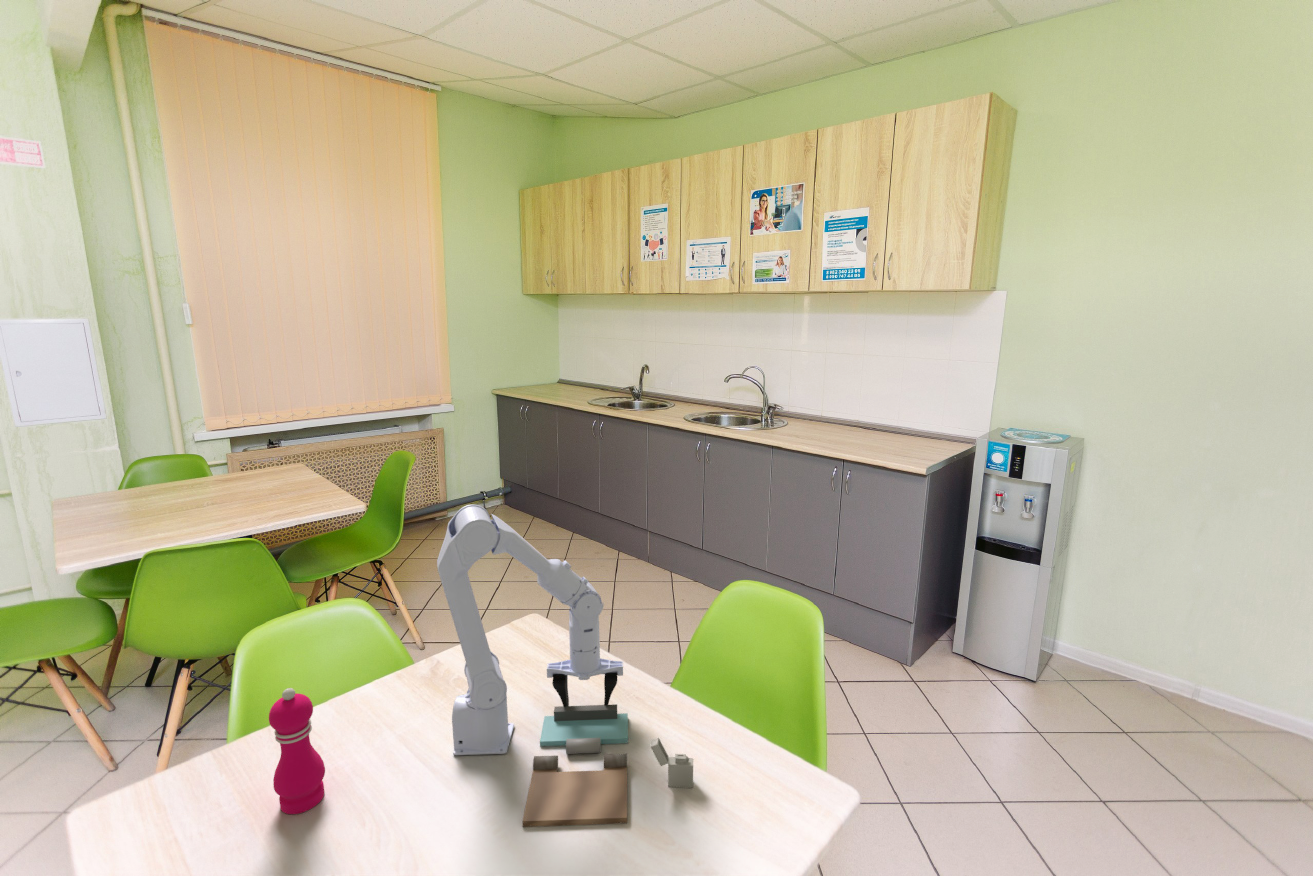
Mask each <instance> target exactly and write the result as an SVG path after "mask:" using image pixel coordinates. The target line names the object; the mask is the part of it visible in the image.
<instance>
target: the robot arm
mask: <svg viewBox="0 0 1313 876" xmlns="http://www.w3.org/2000/svg"><path fill="white" fill-rule="evenodd" d="M491 516H492V519H491ZM491 516H490V514H489V512H488V510H487V509H486V508H484V507H483V506H482V505H479V504H473V503H472V504H467V505H465V506H462V507H461V508H460V509H459V510H458V511H457V512H456V513H455V514H454V515H453V516H452V517H451V519H450V520H449V521H448V523H447V529H446V532H445V536H444V539H443V542H442V545H441V546H440V547H441V548H440V551H439V552H438V553H439V554H438V557H437V560H436V567H437V573H438V575H439V579H440V582H441V586H442V588H443V592H444V596H445V599H446V602H447V604H448V608H449V611H450V614H451V618H452V621H453V624H454V628H455V631H456V634H457V635H456V636H457V638H458V641H459V643H460V644H459V645H460V647H461V650H462V654H463V656H464V661H465V663H464V667H463V668H464V675H465V677H466V680H467V686H468V689H467V690H466V693H465V694H461V695H457V696H456V697H455V700H454V701H453V702H454V703H453V707H452V713H451V724H452V738H453V739H452V740H453V752H452V754H453V756H468V755H470V756H471V755H472V756H473V755H500V754H501V755H505V754H507V753H508V750H509V746H510V741H511V739H512V736H513V731H514V727H515V723H514V722H509V716H508V715H509V714H508V696H507V694H508V693H507V691H508V687H507V686H508V685H507V683H506V680H505V679H504V677H503V674H502V670H501V667H500V661H499V658H498V657H497V655H496V654H494V653H493V651H491V648H490V645H489V642H488V638H487V635H486V632H485V629H484V628H485V627H484V624H483V622H482V617H481V614H480V611H479V608H478V603H477V601H476V598H475V595H474V592H473V591H474V590H473V588H472V584H471V580H470V577H469V573H468V572H469V571H470V569H471V568H472V566H473V565H474V564H475V563H476V562H477V561H479V560H480V559H481V558H483V557H484V556H486V555H487V554H489V553H490V552H491V553H492V555H500V554H504V553H506V554H508V555H510V556H511V557H512V558H514V559H515V560H517V561H518V562H520V563H521V564H522V565H524V566H525V567H526V568H528V570H530V571H532V572H533V573H535V574H536V575H537V577H536V578H537V579H536V582H537V584H538V585H539V586H540V587H541V588H542V589H543V590H544V591H546V592H547V593H548V594H550V595H551V596H552V597H554V598H555V599H556V600H557V601H558V602H560V603H561V604H563V605H565V606H568V607H569V609H568V615H569V617H568V618H569V619H568V620H569V621H568V634H569V635H568V636H569V659H566V660H562V661H556V662H549V663H547V664H546V665H547V666H546V678H548V679H550V678H551V679H552V683H551V684H552V688H554V689H555V692H557V694H558V696H559V698H560V700H561V703H562V706H570V697H569V690H568V689H569V688H568V686H569V685H568V684H569V683H568V681H569V680H568V676H570V677H576V678H578V680H580V681H588V680H590V678H591V677H594V676H599V675H600V676H601V675H604V680H603V683H604V685H603V686H604V700H603V701H604V702H603V703H604V704H603V705H610V704H609V702H610V699H611V696H612V694H613V692H614V690H615V688H616V686H617V684H618V677H621V676H622V677H623V676H624V661H623V660H611V659H605V658H601V650H600V649H601V648H600V647H601V643H600V641H601V639H600V638H601V637H600V619H599V618H600V615H601V613H602V611H603V609H604V606H605V605H604V602H603V601H602V598H601V597H602V596H600V594H599V593H598V592H597V590H596V589H595V587H594V586H593V584H591V583H590V582H589V580H588V579H587V578H586V577H585V576H582V577H581V576H580V575H579V574H577V573H576V572H575V571H573V569H571V568H572V565H571V564H570V563H569V562H568V561H567V560H563V561H561V560H560V559H559V558H551V559H548V558H546V557H545V556H544V555H543V554H542V553H541V552H540V551H538V549H536V548H535V547H534V546H533V545H532V544H531V543H530V542H528V541H527V539H525V538H524V537H523V536H522V535H521V534H519V533H518V532H517V531H516V530H515V529H514V528H513V527H512V526H510V525H509V524H507V523H506V522H505V521H503V519H501V518H500V517H498V516H497V515H494V514H493V513H491Z"/></svg>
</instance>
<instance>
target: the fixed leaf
mask: <svg viewBox="0 0 1313 876" xmlns="http://www.w3.org/2000/svg"><path fill="white" fill-rule="evenodd" d="M532 761H533V762H532V774H531V778H530V783H529V788H528V793H527V798H526V802H525V808H524V812H523V817H522V820H521V821H522V828H526V827H529V828H530V827H531V828H532V827H553V826H554V827H556V826H559V827H560V826H561V827H562V826H582V825H583V826H584V825H585V826H586V825H613V824H615V825H616V824H627V823H628V753H625V752H624V753H623V752H622V753H604V754H603V770H581V771H579V770H578V771H577V770H575V771H558V770H559V769H558V768H559V755H537V756H536V755H534V756H533V760H532Z"/></svg>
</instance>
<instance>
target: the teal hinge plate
mask: <svg viewBox="0 0 1313 876" xmlns="http://www.w3.org/2000/svg"><path fill="white" fill-rule="evenodd" d="M553 709H554V710H553V715H544V718H543V723H542V728H541V732H540V733H541V734H540V739H539V747H558V746H559V747H561V746H563V747H564V746H565V753H566V755H570V754H572V755H573V754H575V755H576V754H597V753H598V754H599V753H601V748H602V747H601V745H610V744H611V745H613V744H615V745H617V744H628V743H629V719H628V718H629V717H628V712H627V713H625V712H624V713H618V703H617V704H608V705H604V704H591V705H589V704H588V705H569V706H563V705H562V706H560V705H559V706H554V708H553Z"/></svg>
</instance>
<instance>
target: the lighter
mask: <svg viewBox="0 0 1313 876" xmlns="http://www.w3.org/2000/svg"><path fill="white" fill-rule="evenodd" d="M650 749H651V751H652V753H653V754H654V756H655V758H656V760H657V762H658V764H659V765H660V767H663V766H666V765H667V766H668V767H667V770H668V771H667V773H668V774H667V778H668V780H667V784H668V785H667V786H668V788H669V787H670V788H682V789H683V788H684V789H685V788H686V789H692V788H694V758H693V757H689V756H687V754H686V753H675V755H674V756H669V755H668V752H667V750H666V748H665V747H664V745H663V743H662V741H661V740H660V738H659V737H655V738H653V739H651V740H650Z"/></svg>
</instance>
